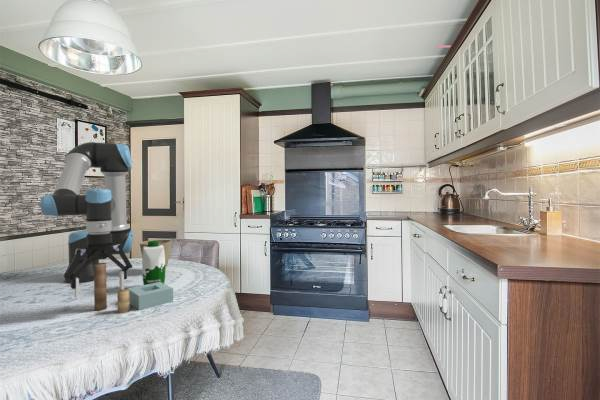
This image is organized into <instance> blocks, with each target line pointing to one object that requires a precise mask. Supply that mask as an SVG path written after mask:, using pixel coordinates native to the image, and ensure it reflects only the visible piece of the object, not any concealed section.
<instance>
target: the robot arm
mask: <svg viewBox="0 0 600 400" xmlns="http://www.w3.org/2000/svg"><path fill="white" fill-rule="evenodd" d="M63 162H64V167H63V170H62V172H61V175H60V176H59V178H58V179H59V180H58V182H57V184H56V186H55V188H54V191H53V193H52V194H45V195H43V196H42V197H41V198H40V207H39V208H40V211H41V214H43V215H44V216H48V217H50V216H52V217H54V216H56V217H59V216H60V217H61V216H63V217H64V216H86V218H85V219H86V220H85V222H86V223H85V225H86V228H85V229H81V230H78V231H77V230H76V231H74V232H71V233H70V234H69V235H68V240H67V241H68V242H67V244H68V265H67V269H66V270H65V272H64V274H63V278H64V282H65V283H67V284H70V289H72V290H74V298H75V299H76V300H78V299H80V283H85V282H93V281H94V264H97V263H100V261H99V260H106V259H109V260H110V261H112V262H113V263H114V264H115V265H116V266H117V267H118V268H119V269H121V270H119V273H118V274H119V279H118V280H119V285H118V286H119V289H120V290H125V280H127V278H128V275H127V273H128V270H130V269H132V268H133V265H132V263H131V262H130V259H129V258H128V257H127V254H129V253H131V250H132V249H133V248H132V247H133V240H134V229H131V226H130V225H129V224H128V222H127V194H126V193H127V190H126V189H127V188H126V185H127V184H126V183H127V182H126V175H128V174H129V172H130V170H131V169H133V163H132V162H133V161H132V155H131V151H130V148H129V146H128V145H127V144H124V143H112V142H111V143H109V142H91V141H90V142H84V143H81V144H78V145H77V146H75V147H73V148H72V149H70V150H69V151H68V153H67V154H66V155H65V157H64V161H63ZM91 168H98V169H100V173H101V174H102V175H103V176H104V188H89V189H87V190H86V191H85V194H80V191H81V189H82V185H83V184H84V183H83V182H84V179H85V176H86V173H87V171H89V170H90V169H91ZM114 255H119V257H121V259H122V261H123V262H124V264H125V265H124V264H123V263H122V261H121V262H120V261H119V260H118V259H117V258H116V257H115V256H114Z"/></svg>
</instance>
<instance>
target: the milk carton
mask: <svg viewBox="0 0 600 400" xmlns="http://www.w3.org/2000/svg"><path fill="white" fill-rule="evenodd" d="M148 241H149V242H148V246H144V247H143V252H142V253H141V255H142V254H143V256H141V257H142V260H141V261H142V262H141V263H142V264H141V265H142V268H141V269H142V270H141V271H142V272H141V273H142V283H143V285H147V284H152V283H157V282H162V283H164V284H165V282H166V281H165V280H166V270H165V254H164V253H165V250H164V246H163V245H158V241H150V240H148Z"/></svg>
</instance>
